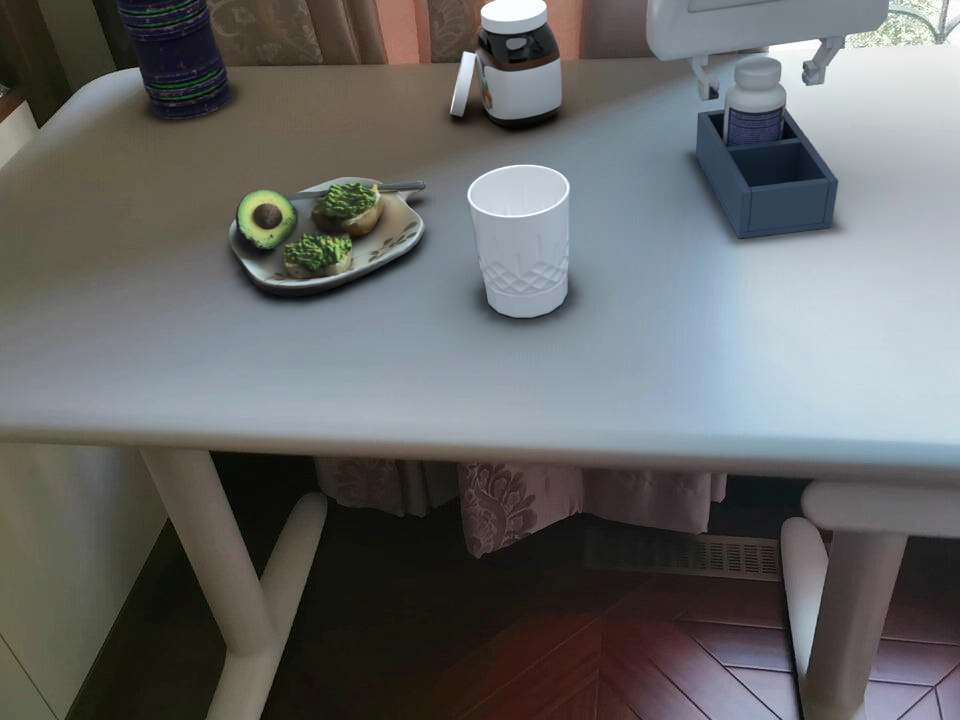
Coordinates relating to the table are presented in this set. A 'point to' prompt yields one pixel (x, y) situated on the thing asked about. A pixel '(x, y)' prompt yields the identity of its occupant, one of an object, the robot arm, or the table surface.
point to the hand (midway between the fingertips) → (760, 90)
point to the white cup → (522, 237)
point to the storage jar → (177, 56)
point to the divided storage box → (767, 179)
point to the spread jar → (513, 65)
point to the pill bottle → (754, 103)
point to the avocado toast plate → (323, 233)
